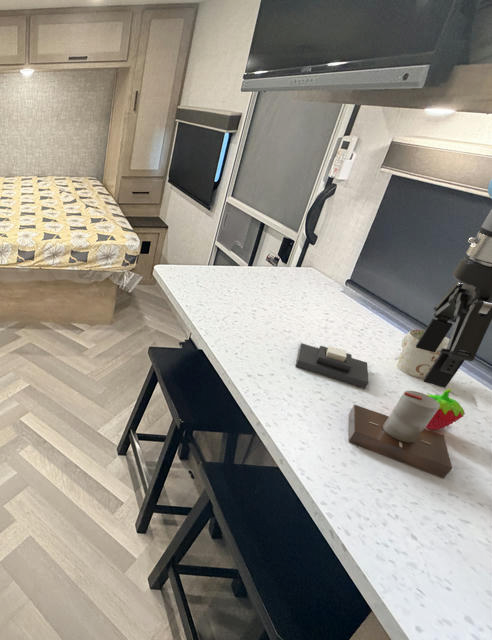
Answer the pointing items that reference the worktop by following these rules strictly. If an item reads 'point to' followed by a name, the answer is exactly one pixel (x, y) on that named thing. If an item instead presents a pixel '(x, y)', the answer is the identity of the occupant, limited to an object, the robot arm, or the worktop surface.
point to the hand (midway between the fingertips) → (429, 365)
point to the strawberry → (445, 411)
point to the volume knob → (410, 416)
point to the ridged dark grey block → (332, 366)
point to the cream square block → (336, 353)
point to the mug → (417, 355)
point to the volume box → (399, 443)
